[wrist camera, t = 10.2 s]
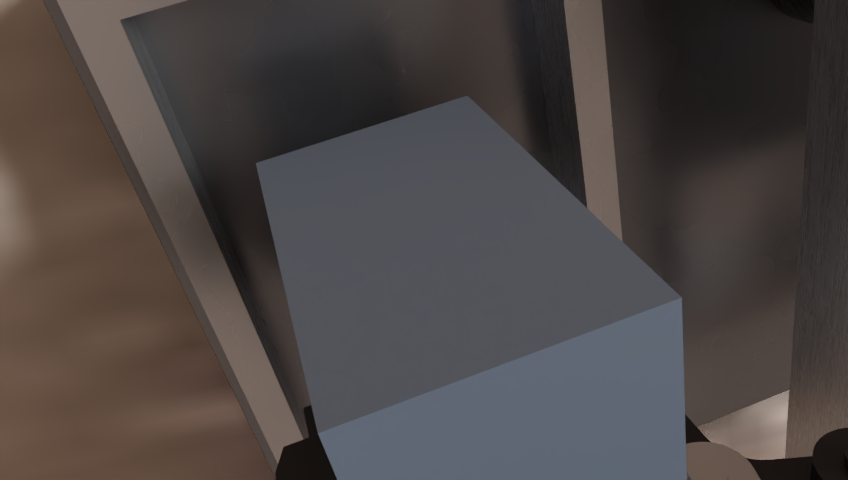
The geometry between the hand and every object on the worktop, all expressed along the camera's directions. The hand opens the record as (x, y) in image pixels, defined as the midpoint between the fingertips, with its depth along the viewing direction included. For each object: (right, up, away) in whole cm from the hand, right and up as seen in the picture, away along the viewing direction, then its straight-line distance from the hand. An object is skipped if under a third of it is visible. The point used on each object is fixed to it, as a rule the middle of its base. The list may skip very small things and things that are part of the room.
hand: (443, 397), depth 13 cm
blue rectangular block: (0, 0, +1) cm, 1 cm away
